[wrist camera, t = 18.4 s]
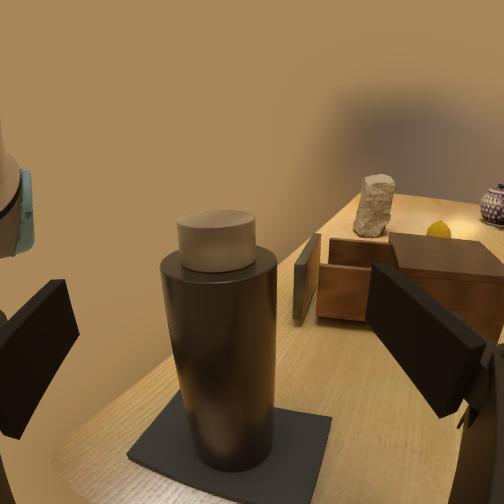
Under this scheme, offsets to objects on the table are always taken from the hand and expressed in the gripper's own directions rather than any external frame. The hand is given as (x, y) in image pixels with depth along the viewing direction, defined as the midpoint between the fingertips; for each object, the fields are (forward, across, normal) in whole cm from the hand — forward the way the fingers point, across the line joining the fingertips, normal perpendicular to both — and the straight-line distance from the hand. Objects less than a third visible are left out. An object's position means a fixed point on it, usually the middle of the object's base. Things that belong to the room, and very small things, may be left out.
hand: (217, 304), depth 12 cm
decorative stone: (+59, +37, -14) cm, 71 cm away
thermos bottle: (+3, 0, -13) cm, 14 cm away
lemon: (+38, +42, -14) cm, 58 cm away
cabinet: (+18, +27, -14) cm, 36 cm away
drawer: (+23, +16, -13) cm, 31 cm away
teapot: (+65, +96, -14) cm, 117 cm away
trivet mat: (+3, 0, -14) cm, 14 cm away
